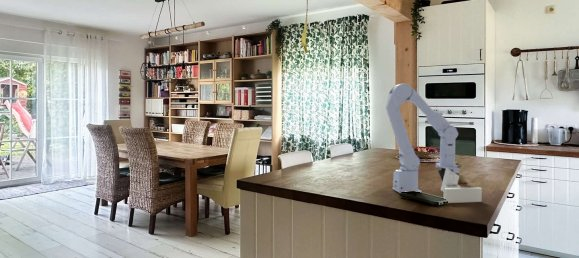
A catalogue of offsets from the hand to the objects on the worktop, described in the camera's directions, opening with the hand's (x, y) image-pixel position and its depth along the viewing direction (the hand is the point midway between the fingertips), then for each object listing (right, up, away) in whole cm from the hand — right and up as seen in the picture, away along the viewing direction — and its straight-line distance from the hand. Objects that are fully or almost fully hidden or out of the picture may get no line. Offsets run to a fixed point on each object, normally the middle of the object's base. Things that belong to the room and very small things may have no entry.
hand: (446, 187), depth 154 cm
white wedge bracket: (0, -1, -2) cm, 3 cm away
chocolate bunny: (+13, -1, +20) cm, 23 cm away
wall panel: (-1, -3, -16) cm, 17 cm away
